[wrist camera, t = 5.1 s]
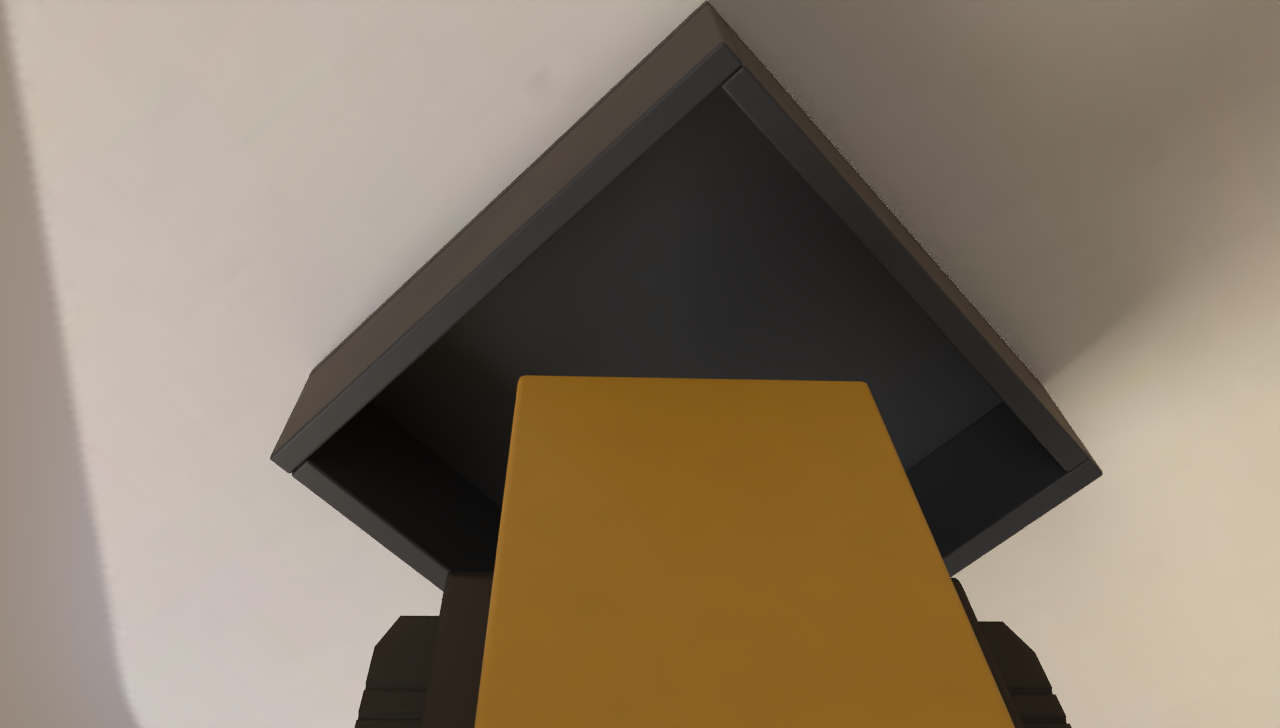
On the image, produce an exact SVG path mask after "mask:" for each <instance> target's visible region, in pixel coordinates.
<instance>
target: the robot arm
mask: <svg viewBox="0 0 1280 728" xmlns="http://www.w3.org/2000/svg"><path fill="white" fill-rule="evenodd" d="M493 576H494V572H448V574H447V577H446V582H445V588H444V593H443V599H442V604H441V610H440V615H439V616H400V617H399V618H398V620H397V621H396V622H395V623H394V624H393V626H392V627H391V628H390V629H389V630H388V632H387V633H386V634H385V635H384V636H383V638H382V639H381V640H380V641H379V642H378V644H377V645H376V646H375V648H374V652H373V656H372V660H371V664H370V668H369V672H368V676H367V680H366V689H365V690H364V692H363V696H362V700H361V704H360V708H359V716H358V720H356V724H355V728H474V726H475V718H476V710H477V702H478V695H479V687H480V679H481V671H482V663H483V655H484V647H485V639H486V631H487V623H488V616H489V608H490V600H491V592H492V584H493ZM951 580H952V582H953V585H954V587H955V589H956V592H957V594H958V596H959V599H960V601H961V603H962V606H963V608H964V610H965V613H966V615H967V617H968V620H969V622H970V624H971V627H972V629H973V631H974V634H975V636H976V638H977V641H978V643H979V645H980V648H981V650H982V652H983V655H984V657H985V659H986V662H987V664H988V666H989V669H990V671H991V673H992V675H993V678H994V680H995V682H996V685H997V687H998V689H999V692H1000V694H1001V696H1002V699H1003V701H1004V703H1005V706H1006V708H1007V710H1008V713H1009V715H1010V717H1011V720H1012V722H1013V724H1014V727H1015V728H1072V727H1071V725H1070V724H1067V723H1066V715H1065V713H1064V711H1063V709H1062V707H1061V705H1060V703H1059V701H1058V699H1057V697H1056V695H1053V694H1052V687H1051V684H1050V682H1049V680H1048V678H1047V676H1046V674H1045V672H1044V670H1043V668H1042V666H1041V664H1040V662H1039V660H1038V658H1037V656H1036V654H1035V652H1034V651H1033V650H1032V649H1031V648H1030V647H1029V646H1028V645H1027V644H1025V643H1024V642H1023V641H1022V640H1021V639H1020V638H1019V637H1018V636H1017V635H1016V634H1015V633H1014V632H1013V631H1012V630H1011V629H1010V628H1009V627H1008V626H1007V625H1006V624H1005V623H1004V622H978V621H977V618H976V616H975V614H974V612H973V609H972V607H971V605H970V603H969V600H968V598H967V596H966V593H965V591H964V589H963V587H962V585H961V583H960V582H959V581H958V580H957V579H956V578H951Z"/></svg>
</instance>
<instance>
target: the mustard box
mask: <svg viewBox="0 0 1280 728" xmlns="http://www.w3.org/2000/svg"><path fill="white" fill-rule="evenodd" d="M474 728H1015V727H1014V724H1013V722H1012V720H1011V717H1010V715H1009V713H1008V710H1007V708H1006V706H1005V703H1004V701H1003V699H1002V696H1001V694H1000V692H999V689H998V687H997V685H996V682H995V680H994V678H993V675H992V673H991V671H990V669H989V666H988V664H987V662H986V659H985V657H984V655H983V652H982V650H981V648H980V645H979V643H978V641H977V638H976V636H975V634H974V631H973V629H972V627H971V624H970V622H969V620H968V617H967V615H966V613H965V610H964V608H963V606H962V603H961V601H960V599H959V596H958V594H957V592H956V589H955V587H954V585H953V582H952V580H951V578H950V575H949V573H948V571H947V568H946V566H945V564H944V561H943V559H942V557H941V555H940V552H939V550H938V548H937V545H936V543H935V541H934V538H933V536H932V534H931V531H930V529H929V527H928V524H927V522H926V520H925V517H924V515H923V513H922V510H921V508H920V506H919V503H918V501H917V499H916V496H915V494H914V492H913V489H912V487H911V485H910V482H909V480H908V478H907V475H906V473H905V471H904V468H903V466H902V464H901V461H900V459H899V457H898V454H897V452H896V450H895V448H894V445H893V443H892V441H891V438H890V436H889V434H888V431H887V429H886V427H885V424H884V422H883V420H882V417H881V415H880V413H879V410H878V408H877V406H876V403H875V401H874V399H873V396H872V394H871V392H870V389H869V387H868V385H867V384H866V383H865V382H861V381H813V380H758V379H702V378H647V377H592V376H537V375H525V376H521V377H520V379H519V381H518V386H517V394H516V402H515V410H514V418H513V426H512V434H511V442H510V450H509V457H508V465H507V473H506V481H505V489H504V497H503V505H502V513H501V521H500V529H499V536H498V544H497V552H496V560H495V568H494V576H493V584H492V592H491V600H490V608H489V616H488V623H487V631H486V639H485V647H484V655H483V663H482V671H481V679H480V687H479V695H478V702H477V710H476V718H475V726H474Z"/></svg>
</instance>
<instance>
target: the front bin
mask: <svg viewBox="0 0 1280 728" xmlns="http://www.w3.org/2000/svg"><path fill="white" fill-rule="evenodd" d="M525 375H537V376H592V377H647V378H702V379H758V380H813V381H861V382H865V383H866V384H867V385H868V387H869V389H870V392H871V394H872V396H873V399H874V401H875V403H876V406H877V408H878V410H879V413H880V415H881V417H882V420H883V422H884V424H885V427H886V429H887V431H888V434H889V436H890V438H891V441H892V443H893V445H894V448H895V450H896V452H897V454H898V457H899V459H900V461H901V464H902V466H903V468H904V471H905V473H906V475H907V478H908V480H909V482H910V485H911V487H912V489H913V492H914V494H915V496H916V499H917V501H918V503H919V506H920V508H921V510H922V513H923V515H924V517H925V520H926V522H927V524H928V527H929V529H930V531H931V534H932V536H933V538H934V541H935V543H936V545H937V548H938V550H939V552H940V555H941V557H942V559H943V561H944V564H945V566H946V568H947V571H948V573H949V575H950V577H952V576H953V575H955V574H956V573H958V572H959V571H961V570H962V569H964V568H965V567H967V566H968V565H970V564H971V563H973V562H974V561H976V560H977V559H978V558H980V557H981V556H983V555H984V554H986V553H987V552H989V551H990V550H992V549H993V548H995V547H996V546H998V545H999V544H1001V543H1002V542H1004V541H1005V540H1007V539H1008V538H1010V537H1011V536H1013V535H1014V534H1016V533H1017V532H1019V531H1020V530H1022V529H1023V528H1024V527H1026V526H1027V525H1029V524H1030V523H1032V522H1033V521H1035V520H1036V519H1038V518H1039V517H1041V516H1042V515H1044V514H1045V513H1047V512H1048V511H1050V510H1051V509H1053V508H1054V507H1056V506H1057V505H1059V504H1060V503H1062V502H1063V501H1065V500H1066V499H1068V498H1069V497H1071V496H1072V495H1073V494H1075V493H1076V492H1078V491H1079V490H1081V489H1082V488H1084V487H1085V486H1087V485H1088V484H1090V483H1091V482H1093V481H1094V480H1096V479H1097V478H1099V477H1100V476H1101V475H1102V470H1101V469H1100V468H1099V466H1098V465H1097V463H1096V462H1095V460H1094V459H1093V458H1092V456H1091V455H1090V453H1089V452H1088V450H1087V449H1086V447H1085V446H1084V445H1083V443H1082V442H1081V440H1080V439H1079V437H1078V436H1077V435H1076V433H1075V432H1074V430H1073V429H1072V427H1071V426H1070V425H1069V423H1068V422H1067V420H1066V419H1065V417H1064V416H1063V414H1062V413H1061V412H1060V410H1059V409H1058V407H1057V406H1056V404H1055V403H1054V402H1053V400H1052V399H1051V397H1050V396H1049V394H1048V393H1047V391H1046V390H1045V388H1044V387H1043V386H1042V385H1041V383H1040V382H1039V381H1038V380H1037V379H1036V378H1035V377H1034V375H1033V374H1032V373H1031V372H1030V371H1029V370H1028V369H1027V367H1026V366H1025V365H1024V364H1023V363H1022V362H1021V361H1020V359H1019V358H1018V357H1017V356H1016V355H1015V354H1014V352H1013V351H1012V350H1011V349H1010V348H1009V347H1008V346H1007V344H1006V343H1005V342H1004V341H1003V340H1002V339H1001V338H1000V336H999V335H998V334H997V333H996V332H995V331H994V329H993V328H992V327H991V326H990V325H989V324H988V323H987V321H986V320H985V319H984V318H983V317H982V316H981V315H980V313H979V312H978V311H977V310H976V309H975V308H974V307H973V305H972V304H971V303H970V302H969V301H968V300H967V298H966V297H965V296H964V295H963V294H962V293H961V292H960V290H959V289H958V288H957V287H956V286H955V285H954V284H953V282H952V281H951V280H950V279H949V278H948V277H947V276H946V274H945V273H944V272H943V271H942V270H941V269H940V267H939V266H938V265H937V264H936V263H935V262H934V261H933V259H932V258H931V257H930V256H929V255H928V254H927V253H926V251H925V250H924V249H923V248H922V247H921V246H920V244H919V243H918V242H917V241H916V240H915V239H914V238H913V236H912V235H911V234H910V233H909V232H908V231H907V230H906V228H905V227H904V226H903V225H902V224H901V223H900V222H899V220H898V219H897V218H896V217H895V216H894V215H893V213H892V212H891V211H890V210H889V209H888V208H887V207H886V205H885V204H884V203H883V202H882V201H881V200H880V199H879V197H878V196H877V195H876V194H875V193H874V192H873V190H872V189H871V188H870V187H869V186H868V185H867V184H866V182H865V181H864V180H863V179H862V178H861V177H860V176H859V174H858V173H857V172H856V171H855V170H854V169H853V168H852V166H851V165H850V164H849V163H848V162H847V161H846V159H845V158H844V157H843V156H842V155H841V154H840V153H839V151H838V150H837V149H836V148H835V147H834V146H833V145H832V143H831V142H830V141H829V140H828V139H827V138H826V136H825V135H824V134H823V133H822V132H821V131H820V130H819V128H818V127H817V126H816V125H815V124H814V123H813V122H812V120H811V119H810V118H809V117H808V116H807V115H806V114H805V112H804V111H803V110H802V109H801V108H800V107H799V105H798V104H797V103H796V102H795V101H794V100H793V99H792V97H791V96H790V95H789V94H788V93H787V92H786V91H785V89H784V88H783V87H782V86H781V85H780V84H779V82H778V81H777V80H776V79H775V78H774V77H773V76H772V74H771V73H770V72H769V71H768V70H767V69H766V68H765V66H764V65H763V64H762V63H761V62H760V61H759V60H758V58H757V57H756V56H755V55H754V54H753V53H752V51H751V50H750V49H749V48H748V47H747V46H746V45H745V43H744V42H743V41H742V40H741V39H740V38H739V37H738V35H737V34H736V33H735V32H734V31H733V30H732V28H731V27H730V26H729V25H728V24H727V23H726V22H725V20H724V19H723V18H722V17H721V16H720V15H719V14H718V12H717V11H716V10H715V9H714V8H713V7H712V6H711V4H710V3H709V2H708V1H705V2H704V3H703V4H702V5H701V6H700V7H699V8H698V9H697V10H695V11H694V12H693V13H692V14H691V15H690V16H689V17H688V18H687V19H686V20H685V21H684V22H683V23H682V24H681V25H679V26H678V27H677V28H676V29H675V30H674V31H673V32H672V33H671V34H670V35H669V36H668V37H667V38H666V39H665V40H663V41H662V42H661V43H660V44H659V45H658V46H657V47H656V48H655V49H654V50H653V51H652V52H651V53H650V54H649V55H648V56H646V57H645V58H644V59H643V60H642V61H641V62H640V63H639V64H638V65H637V66H636V67H635V68H634V69H633V70H632V71H630V72H629V73H628V74H627V75H626V76H625V77H624V78H623V79H622V80H621V81H620V82H619V83H618V84H617V85H616V86H615V87H613V88H612V89H611V90H610V91H609V92H608V93H607V94H606V95H605V96H604V97H603V98H602V99H601V100H600V101H599V102H597V103H596V104H595V105H594V106H593V107H592V108H591V109H590V110H589V111H588V112H587V113H586V114H585V115H584V116H583V117H581V118H580V119H579V120H578V121H577V122H576V123H575V124H574V125H573V126H572V127H571V128H570V129H569V130H568V131H567V132H566V133H564V134H563V135H562V136H561V137H560V138H559V139H558V140H557V141H556V142H555V143H554V144H553V145H552V146H551V147H550V148H548V149H547V150H546V151H545V152H544V153H543V154H542V155H541V156H540V157H539V158H538V159H537V160H536V161H535V162H534V163H533V164H531V165H530V166H529V167H528V168H527V169H526V170H525V171H524V172H523V173H522V174H521V175H520V176H519V177H518V178H517V179H515V180H514V181H513V182H512V183H511V184H510V185H509V186H508V187H507V188H506V189H505V190H504V191H503V192H502V193H501V194H500V195H498V196H497V197H496V198H495V199H494V200H493V201H492V202H491V203H490V204H489V205H488V206H487V207H486V208H485V209H484V210H482V211H481V212H480V213H479V214H478V215H477V216H476V217H475V218H474V219H473V220H472V221H471V222H470V223H469V224H468V225H466V226H465V227H464V228H463V229H462V230H461V231H460V232H459V233H458V234H457V235H456V236H455V237H454V238H453V239H452V240H451V241H449V242H448V243H447V244H446V245H445V246H444V247H443V248H442V249H441V250H440V251H439V252H438V253H437V254H436V255H435V256H433V257H432V258H431V259H430V260H429V261H428V262H427V263H426V264H425V265H424V266H423V267H422V268H421V269H420V270H419V271H418V272H416V273H415V274H414V275H413V276H412V277H411V278H410V279H409V280H408V281H407V282H406V283H405V284H404V285H403V286H402V287H400V288H399V289H398V290H397V291H396V292H395V293H394V294H393V295H392V296H391V297H390V298H389V299H388V300H387V301H386V302H385V303H383V304H382V305H381V306H380V307H379V308H378V309H377V310H376V311H375V312H374V313H373V314H372V315H371V316H370V317H369V318H367V319H366V320H365V321H364V322H363V323H362V324H361V325H360V326H359V327H358V328H357V329H356V330H355V331H354V332H353V333H351V334H350V335H349V336H348V337H347V338H346V339H345V340H344V341H343V342H342V343H341V344H340V345H339V346H338V347H337V348H336V349H334V350H333V351H332V352H331V353H330V354H329V355H328V356H327V357H326V358H325V359H324V360H323V361H322V362H321V363H320V364H318V365H317V366H316V367H315V368H314V369H313V370H312V371H311V373H310V375H309V378H308V380H307V382H306V384H305V387H304V389H303V391H302V393H301V395H300V397H299V399H298V401H297V403H296V405H295V407H294V409H293V411H292V413H291V415H290V417H289V419H288V422H287V424H286V426H285V428H284V430H283V432H282V434H281V436H280V438H279V440H278V442H277V444H276V446H275V448H274V450H273V452H272V454H271V457H270V459H271V460H272V461H273V462H274V463H276V464H277V465H278V466H280V467H281V468H282V469H284V470H285V471H286V472H288V473H292V476H293V477H294V478H295V479H297V480H298V481H299V482H301V483H302V484H303V485H305V486H306V487H307V488H309V489H310V490H311V491H312V492H314V493H315V494H316V495H318V496H319V497H320V498H322V499H323V500H324V501H326V502H327V503H328V504H329V505H331V506H332V507H333V508H335V509H336V510H337V511H339V512H340V513H341V514H343V515H344V516H345V517H346V518H348V519H349V520H350V521H352V522H353V523H354V524H356V525H357V526H358V527H360V528H361V529H362V530H363V531H365V532H366V533H367V534H369V535H370V536H371V537H373V538H374V539H375V540H377V541H378V542H379V543H380V544H382V545H383V546H384V547H386V548H387V549H388V550H390V551H391V552H392V553H394V554H395V555H396V556H398V557H399V558H400V559H401V560H403V561H404V562H405V563H407V564H408V565H409V566H411V567H412V568H413V569H415V570H416V571H417V572H418V573H420V574H421V575H422V576H424V577H425V578H426V579H428V580H429V581H430V582H432V583H433V584H434V585H435V586H437V587H438V588H439V589H441V590H442V591H443V592H444V588H445V582H446V577H447V574H448V572H494V568H495V560H496V552H497V544H498V536H499V529H500V521H501V513H502V505H503V497H504V489H505V481H506V473H507V465H508V457H509V450H510V442H511V434H512V426H513V418H514V410H515V402H516V394H517V386H518V381H519V379H520V377H521V376H525Z"/></svg>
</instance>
